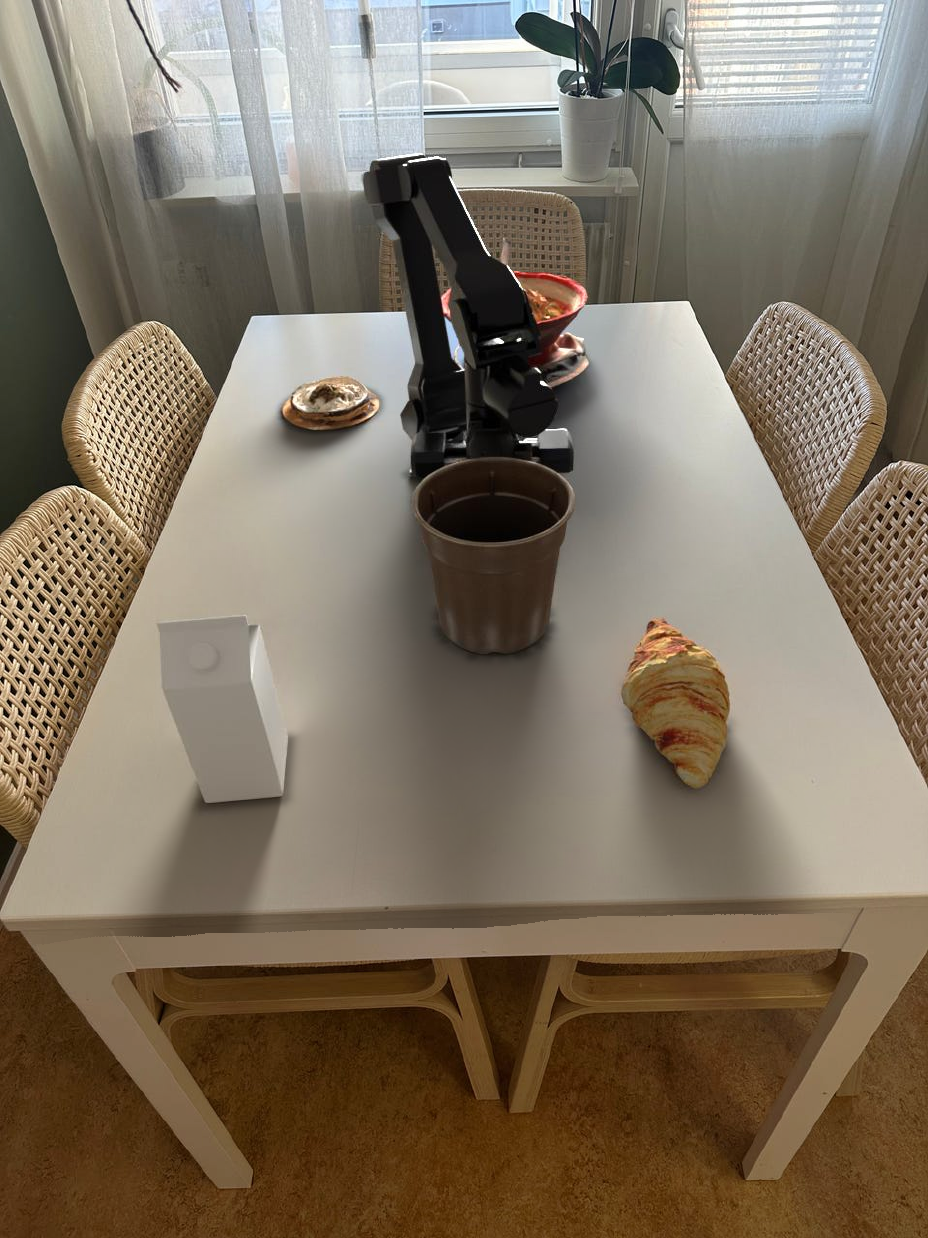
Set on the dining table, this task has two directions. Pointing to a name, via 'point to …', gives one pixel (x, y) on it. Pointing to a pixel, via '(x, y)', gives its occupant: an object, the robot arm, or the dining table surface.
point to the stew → (548, 322)
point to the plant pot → (493, 548)
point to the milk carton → (225, 706)
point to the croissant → (679, 700)
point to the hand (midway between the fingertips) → (492, 512)
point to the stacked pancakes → (330, 404)
